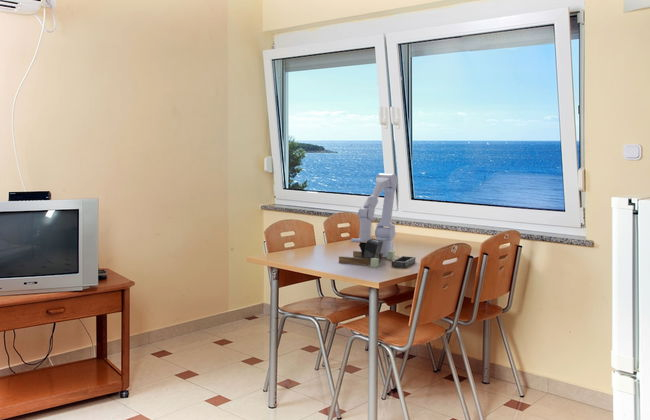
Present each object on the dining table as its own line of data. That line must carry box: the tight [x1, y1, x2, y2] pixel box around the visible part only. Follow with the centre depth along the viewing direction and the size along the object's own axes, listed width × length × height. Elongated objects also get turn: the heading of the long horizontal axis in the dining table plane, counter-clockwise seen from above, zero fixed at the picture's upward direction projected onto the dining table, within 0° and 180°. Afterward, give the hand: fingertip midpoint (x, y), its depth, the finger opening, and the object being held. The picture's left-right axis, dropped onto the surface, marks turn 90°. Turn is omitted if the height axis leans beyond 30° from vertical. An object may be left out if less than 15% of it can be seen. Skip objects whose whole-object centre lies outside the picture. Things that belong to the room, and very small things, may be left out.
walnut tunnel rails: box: [338, 250, 384, 266], centre depth 325 cm, size 20×16×3 cm
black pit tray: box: [390, 255, 416, 269], centre depth 315 cm, size 16×7×3 cm, turn 154°
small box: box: [363, 237, 383, 264], centre depth 322 cm, size 11×6×10 cm, turn 160°
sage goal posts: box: [370, 250, 396, 268], centre depth 320 cm, size 26×3×4 cm, turn 154°
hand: (363, 257), depth 323 cm, fingers closed, pressing on small box
